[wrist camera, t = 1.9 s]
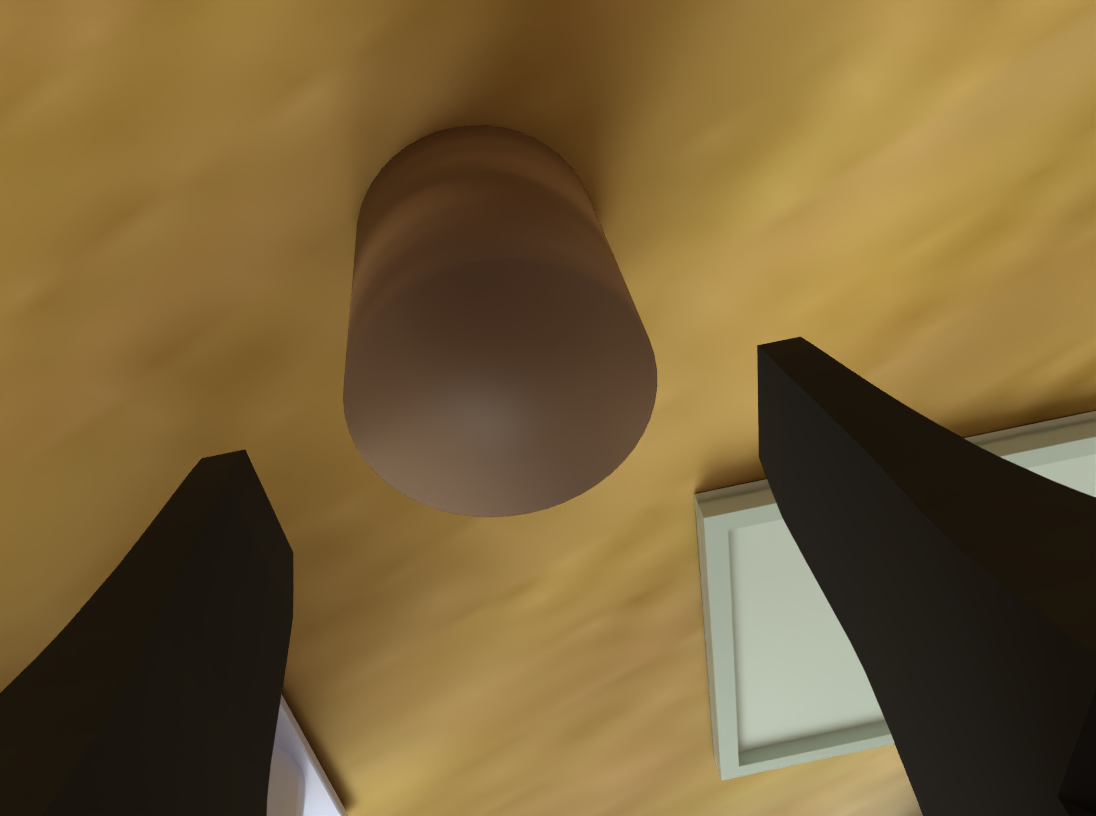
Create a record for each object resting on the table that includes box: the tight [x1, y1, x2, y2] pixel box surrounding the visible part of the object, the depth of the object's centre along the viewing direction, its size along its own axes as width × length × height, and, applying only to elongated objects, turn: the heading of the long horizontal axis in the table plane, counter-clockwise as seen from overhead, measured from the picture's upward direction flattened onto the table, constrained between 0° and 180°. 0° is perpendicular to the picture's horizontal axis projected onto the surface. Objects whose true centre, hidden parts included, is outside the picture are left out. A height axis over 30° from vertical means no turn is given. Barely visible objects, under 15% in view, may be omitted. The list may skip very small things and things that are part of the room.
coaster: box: [694, 411, 1096, 781], centre depth 26 cm, size 12×12×1 cm
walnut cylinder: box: [343, 126, 657, 517], centre depth 16 cm, size 5×5×6 cm
